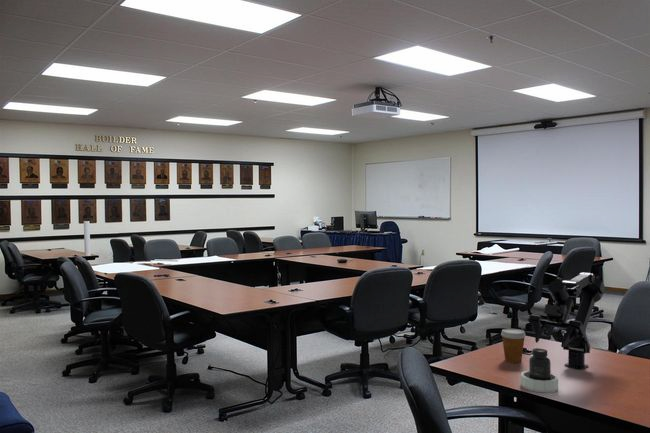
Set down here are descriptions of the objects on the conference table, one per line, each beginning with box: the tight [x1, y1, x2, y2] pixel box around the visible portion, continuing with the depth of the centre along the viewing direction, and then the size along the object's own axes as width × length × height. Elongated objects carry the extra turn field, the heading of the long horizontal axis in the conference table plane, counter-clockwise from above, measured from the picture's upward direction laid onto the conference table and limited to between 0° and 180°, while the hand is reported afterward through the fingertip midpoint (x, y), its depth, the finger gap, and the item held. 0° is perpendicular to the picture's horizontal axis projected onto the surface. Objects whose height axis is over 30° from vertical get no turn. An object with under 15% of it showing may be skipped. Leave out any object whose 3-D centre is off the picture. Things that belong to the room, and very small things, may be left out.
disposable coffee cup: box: [500, 328, 526, 363], centre depth 216 cm, size 10×10×12 cm
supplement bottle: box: [528, 347, 552, 381], centre depth 184 cm, size 7×7×12 cm
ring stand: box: [520, 370, 559, 394], centre depth 184 cm, size 12×12×4 cm
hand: (548, 344), depth 190 cm, fingers open, 9 cm apart
